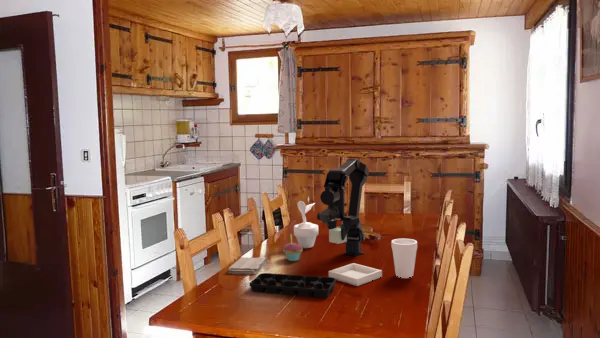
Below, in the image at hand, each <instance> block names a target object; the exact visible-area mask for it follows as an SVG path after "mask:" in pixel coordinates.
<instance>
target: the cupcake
mask: <svg viewBox="0 0 600 338" xmlns="http://www.w3.org/2000/svg"><path fill="white" fill-rule="evenodd" d="M289 237H290V242H288V243H286V244H285V245H284V246H283V247H282V252H283V253H284V255H285V256H286V260H288V261H290V262H296V261H299V259H300V257H301V254H302V252H303V249H304V248H303V247H302V246H301V245H299V243H298V242H293V234H292V233H290V236H289Z"/></svg>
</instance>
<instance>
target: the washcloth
mask: <svg viewBox="0 0 600 338" xmlns="http://www.w3.org/2000/svg"><path fill="white" fill-rule="evenodd" d="M267 263H268V259H267V257H260V256H259V257H239V259H238V260H236V261H235V262H234V263H233V264H232V265H231V266H229V267H228V274H231V275H250V276H251V275H256V274H258V273H259V272H260V271H261V270H262V269H263V267H264V266H265V265H266V264H267Z"/></svg>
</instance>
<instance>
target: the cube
mask: <svg viewBox="0 0 600 338" xmlns="http://www.w3.org/2000/svg"><path fill="white" fill-rule="evenodd" d="M328 239H329V240H328V242H329V243H334V244H337V245H339V244H343V243H346V242H347V235H346V237H345V239H344V240H342V239H341V227H336V228H334V229H330V230H329V229H328Z"/></svg>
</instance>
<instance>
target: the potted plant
mask: <svg viewBox="0 0 600 338" xmlns="http://www.w3.org/2000/svg"><path fill="white" fill-rule="evenodd" d="M306 200H307V201H308V204H306V203H305V202H304V201H302V200H299V201H298V202H297V204H296V205H297V208H298V211H299V212H300V214H301V218H302V222H301V223H298V224H297V223H296V224H294V225H293V236H295V238H296V241H297V243H298V244H299V245H301V246H302V247H303V248H302V249H310V248H313V247H314V246H315V242H316V239H317V236H319V225H318V224H316V223H312V222H308V221H307V217H306V214H307V213H308V212H310V210H311V209H312V208H313V206H314V205H315V204H316V202H314V203H310V196H309V195H308V196H307V199H306ZM309 203H310V204H309Z"/></svg>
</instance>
